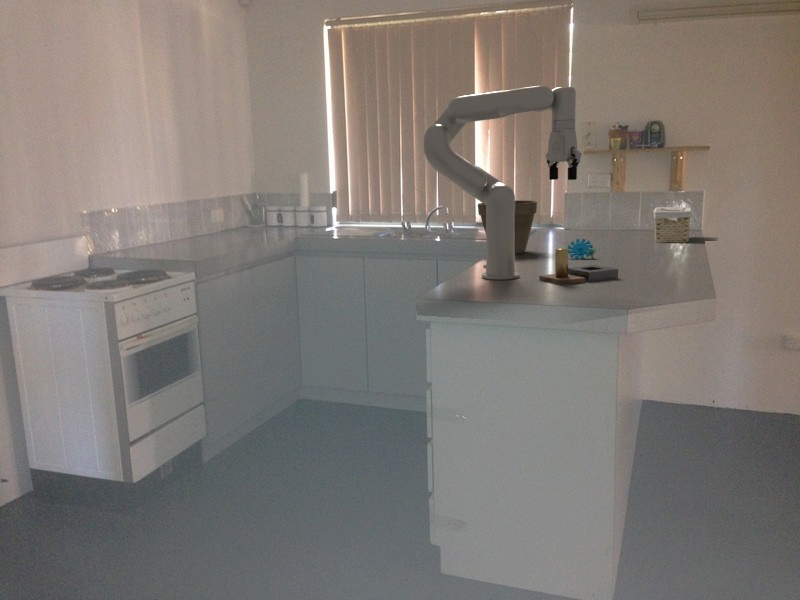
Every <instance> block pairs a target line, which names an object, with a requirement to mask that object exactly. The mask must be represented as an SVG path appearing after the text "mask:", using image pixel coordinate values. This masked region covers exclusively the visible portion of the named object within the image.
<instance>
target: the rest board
mask: <svg viewBox="0 0 800 600" xmlns="http://www.w3.org/2000/svg"><path fill="white" fill-rule="evenodd" d="M538 279H539V281H541V282H545V281H546V283H550V284H555V285H559V286H567V285H575V284H576V285H577V284H584V283H586V281H585V278H583V277H578V276H573V275H568V277H565V278H558V277H555V273H552V274H544V275H542V274H541V275H539V278H538Z"/></svg>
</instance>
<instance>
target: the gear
mask: <svg viewBox="0 0 800 600" xmlns="http://www.w3.org/2000/svg"><path fill="white" fill-rule="evenodd" d="M575 242H576V243H575ZM575 242H574V241H573V240H572V241H571V242H570V244H568V246H567V249H568V255H569V256H570V258H571V259H572V258H574V260H577V259H578V260H579V258H580V260H584V259H585V256H586V258H588V257H590V258H591V259H593V258H594V254H595V253H596V251H597V250H596V248H593V244H591V241H590V240H587V241H586V239H585V238H582V240H581V241H580V239H579V238H576V239H575Z"/></svg>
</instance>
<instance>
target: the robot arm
mask: <svg viewBox="0 0 800 600" xmlns="http://www.w3.org/2000/svg"><path fill="white" fill-rule="evenodd" d="M576 99H577V98H576V89H575V88H574V87H572V86H559V87H555V88H552V89H551V88H550V87H549V86H547V85H537V86H536V85H535V86H529V87H528V86H527V87H521V88H514V89H508V90H498V91H491V92H485V93H477V94H476V93H475V94H469V95H462V96H456V97H454V98H452V99H451V100H450V102H449V103H448V105H447V107H446V109H445V110H444V112H442V114H440V116H439V117H438V119H437V120H436V121H435V122H434V123H433V124H431V125H429V126H428V127H427V129H426V131H425V132H424V136H423V150H424V151H423V152H424V155H425V158H426V160H427V162H428V163H429V165H430V166H431V167H432V168H433V169H434V170H435V171H437V173H439V174H440V175H442V176H443V177H445V178H446V179H448V180H449V181H451V182H452V183H453V184H454V185H457V186H458V188H460V189H461V190H462V191H463V192H465V193H467V194H468V195H470V196H471V197H474V198H475V199H476V200H478V201H479V202H480V203H484V204H485V205H486V233H485V236H486V237H485V238H486V239H485V240H486V241H485V242H486V244H485V245H486V249H485V250H486V262H485V264H483V266H482V267H483V268H484V269H485V272H483V273H481V277H482V278H483V279H485V280H486V279H487V280H493V281H494V280H495V281H497V280H498V281H499V280H500V281H502V280H504V281H505V280H513V279H515V280H516V279H519V277H520V273H519V272H516V269H515V265H516V264H515V262H516V261H515V260H516V259H515V256H516V254H515V201H516V196H515V192H514V190H513V189H512V188H511V186H510V185H509V184H506V183H504V182H502V181H501V180H499V179H498V178H496V177H495V176H493V175H491V174H490V173H489V172H488V171H486V170H485V169H483V168H481V166H478V165H475V164H473V163H471V162H470V161H469V160H467V159H465V158H464V157H462V156H461V155H460V154H459V153H457V152H455V151H454V150H453V149H452V148H451V146H450V143H451V142H452V141H453V140H454V139H455V138H456V137H457V135H458V134H459V133H460V132H461V131H462V130H463V128H464V127H465V126H466V124H467V123H471V122H472V123H473V122H480V121H488V120H489V121H490V120H497V119H502V118H506V117H508V116H511V115H516V114H521V113H527V112H528V113H529V112H535V113H542V112H547V111H548V112H549V111H551V131H550V134H549V139H548V147H547V148H548V149H547V150H548V151H547V153H545V158H546V163H547V165H548V169H549V176H548V177H549V180H550V181H551V180H554V181H555V180H559V167H558V165H559V163H561V162H562V163H563V162H566V163H567V165H568V167H567V180H568V181H574V180H575V181H576V180H577V179H578V175H577V174H578V167H579V164H580V161H581V158H582V152H580V151H579V150H578V142H577V141H578V140H577V139H578V138H577V133H576Z"/></svg>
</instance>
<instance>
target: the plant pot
mask: <svg viewBox="0 0 800 600" xmlns="http://www.w3.org/2000/svg"><path fill="white" fill-rule="evenodd" d="M537 207H538V202H537V200H529V199H527V200H526V199H523V200H520V199H519V200H516V199H515V255H516V254H523V253H525V252H526V250H527V246H528V243H529V238H530V235H531V230H532V226H533V223H534V216H535V214H536V213H537V211H538V210H537V209H538V208H537ZM477 211H478V212H477V213H478V215H479V216H480V219H481V222H482V226H483V229H484V232H485V234H486V205H485V204H484V203H482V202H479V203H478V204H477Z"/></svg>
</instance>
